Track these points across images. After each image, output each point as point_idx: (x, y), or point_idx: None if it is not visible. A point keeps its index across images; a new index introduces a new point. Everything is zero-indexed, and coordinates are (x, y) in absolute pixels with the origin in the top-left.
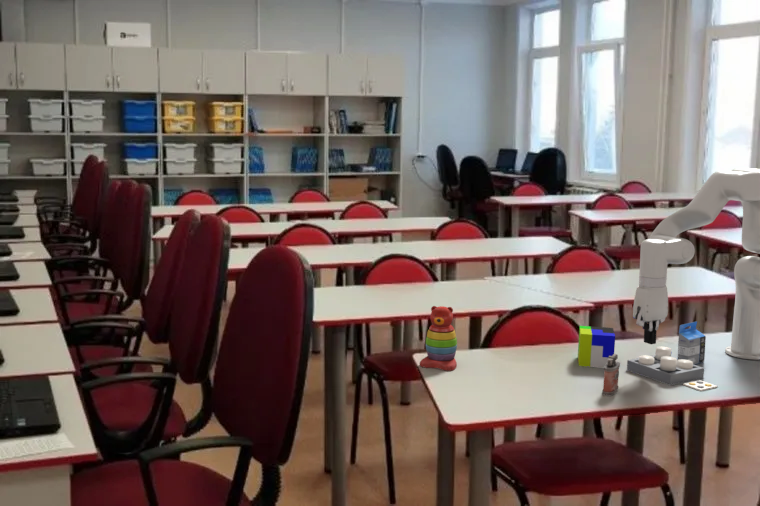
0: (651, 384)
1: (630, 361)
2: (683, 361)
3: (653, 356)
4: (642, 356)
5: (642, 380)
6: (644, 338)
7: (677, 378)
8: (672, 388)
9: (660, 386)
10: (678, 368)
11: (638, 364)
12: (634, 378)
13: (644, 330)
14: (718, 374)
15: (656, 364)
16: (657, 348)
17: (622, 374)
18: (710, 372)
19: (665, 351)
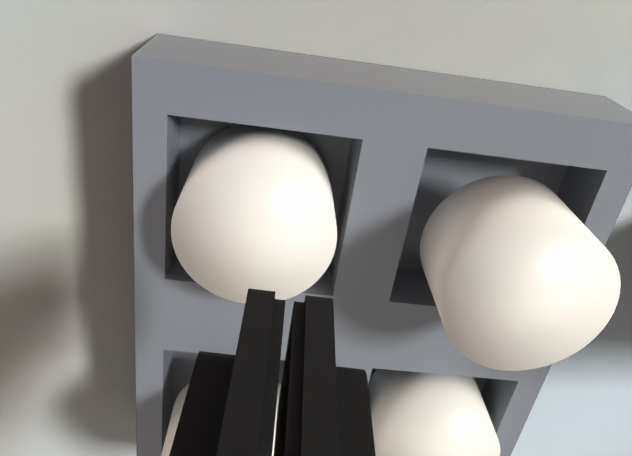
0: (50, 357)
1: (133, 100)
2: (428, 452)
3: (503, 141)
4: (248, 190)
5: (56, 280)
6: (195, 363)
7: None
8: (119, 450)
9: (77, 402)
10: None
11: (135, 204)
12: (31, 222)
13: (219, 438)
14: (618, 448)
15: None
16: (477, 268)
17: (8, 99)
18: (629, 410)
19: (461, 347)
